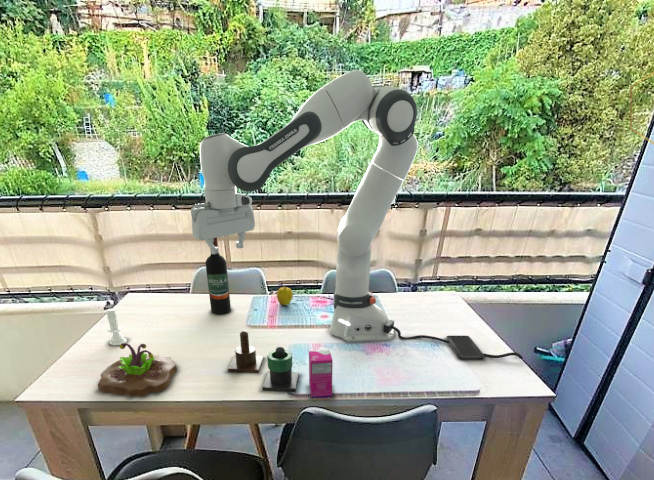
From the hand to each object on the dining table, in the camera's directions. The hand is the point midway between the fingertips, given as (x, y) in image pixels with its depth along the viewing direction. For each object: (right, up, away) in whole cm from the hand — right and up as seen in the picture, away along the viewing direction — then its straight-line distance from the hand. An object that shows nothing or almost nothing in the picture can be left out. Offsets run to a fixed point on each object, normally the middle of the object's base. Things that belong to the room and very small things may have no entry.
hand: (227, 250), depth 124 cm
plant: (-24, -38, -5) cm, 45 cm away
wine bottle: (-10, -12, +39) cm, 42 cm away
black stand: (+16, -39, -7) cm, 43 cm away
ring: (+16, -35, -10) cm, 39 cm away
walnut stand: (+5, -34, +2) cm, 34 cm away
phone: (+75, -28, +12) cm, 81 cm away
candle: (-40, -26, +16) cm, 50 cm away
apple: (+15, -9, +45) cm, 48 cm away
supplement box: (+27, -42, -11) cm, 51 cm away
